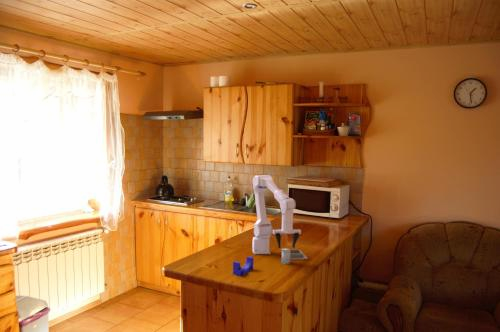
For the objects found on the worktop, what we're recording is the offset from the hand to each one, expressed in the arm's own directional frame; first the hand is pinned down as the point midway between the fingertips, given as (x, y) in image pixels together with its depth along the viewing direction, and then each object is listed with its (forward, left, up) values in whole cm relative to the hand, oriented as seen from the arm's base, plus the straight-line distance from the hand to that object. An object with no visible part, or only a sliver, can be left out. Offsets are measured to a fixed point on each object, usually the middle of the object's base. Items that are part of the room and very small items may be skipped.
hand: (286, 247), depth 206 cm
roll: (0, 0, -8) cm, 8 cm away
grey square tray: (+7, +11, -8) cm, 15 cm away
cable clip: (-24, -12, -9) cm, 28 cm away
